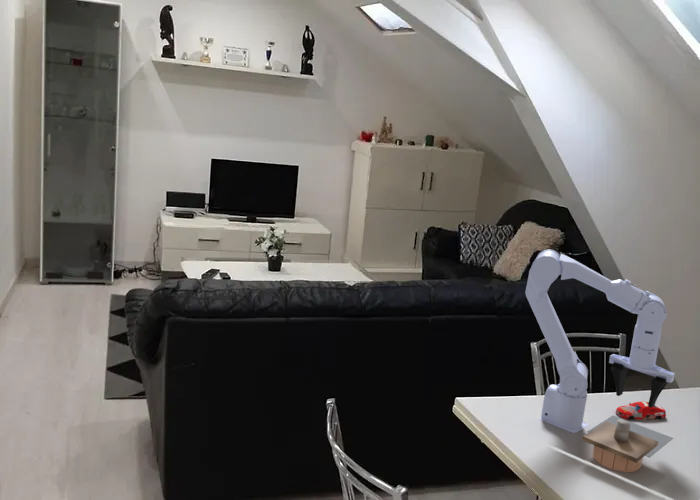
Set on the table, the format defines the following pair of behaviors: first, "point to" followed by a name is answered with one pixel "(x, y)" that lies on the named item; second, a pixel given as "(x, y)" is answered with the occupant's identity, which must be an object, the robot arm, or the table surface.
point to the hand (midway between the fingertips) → (635, 400)
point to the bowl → (614, 460)
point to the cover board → (620, 447)
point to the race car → (640, 411)
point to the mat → (642, 433)
